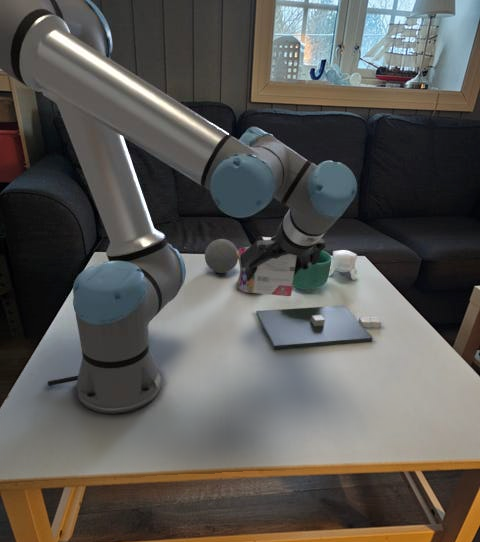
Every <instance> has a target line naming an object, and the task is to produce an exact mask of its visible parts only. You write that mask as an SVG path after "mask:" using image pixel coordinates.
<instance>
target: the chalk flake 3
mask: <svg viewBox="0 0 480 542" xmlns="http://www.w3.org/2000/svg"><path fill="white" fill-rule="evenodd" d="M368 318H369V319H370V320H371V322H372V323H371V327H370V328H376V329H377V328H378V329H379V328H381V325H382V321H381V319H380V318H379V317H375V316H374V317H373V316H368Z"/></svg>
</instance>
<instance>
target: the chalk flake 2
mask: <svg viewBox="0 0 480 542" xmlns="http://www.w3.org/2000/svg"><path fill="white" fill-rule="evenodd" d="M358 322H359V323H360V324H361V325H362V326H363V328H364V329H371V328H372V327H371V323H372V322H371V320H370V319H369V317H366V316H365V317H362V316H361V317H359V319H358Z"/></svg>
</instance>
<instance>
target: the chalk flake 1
mask: <svg viewBox="0 0 480 542" xmlns="http://www.w3.org/2000/svg"><path fill="white" fill-rule="evenodd" d="M311 322H312V323H313V324H314V326H323V325H324V322H325V319H324V318H323V317H322V316H321V315H314V316H312V319H311Z"/></svg>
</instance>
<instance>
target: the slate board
mask: <svg viewBox="0 0 480 542" xmlns="http://www.w3.org/2000/svg"><path fill="white" fill-rule="evenodd" d="M255 312H256V313H255V315H256V318H257V319H258V320H259V323H260V324H261V326H262V329H263V331H264V332H265V335H266V336H267V338H268V340H269V342H270V344H271V346H272V349H273V350H283V349H285V350H286V349H295V348H296V349H297V348H306V347H320V346H332V345H344V344H357V343H367V342H368V343H369V342H373V339H374V337H372V335H371V334H370V333H369V332H368V331H367V330H366V328H363V326H362V325H361V324H360V323H359V320H357V318H356V317H355V316H354V315H353V314H352V313H351V312H350V310H349V309H348V308H347V307H346V306H345V305H329V306H315V307H297V308H282V309H266V310H256V311H255ZM314 315H321V316H322V317H323V318H324V319H325V322H324V325H323V326H314V324H313V323H312V322H311V319H312V316H314Z"/></svg>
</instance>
